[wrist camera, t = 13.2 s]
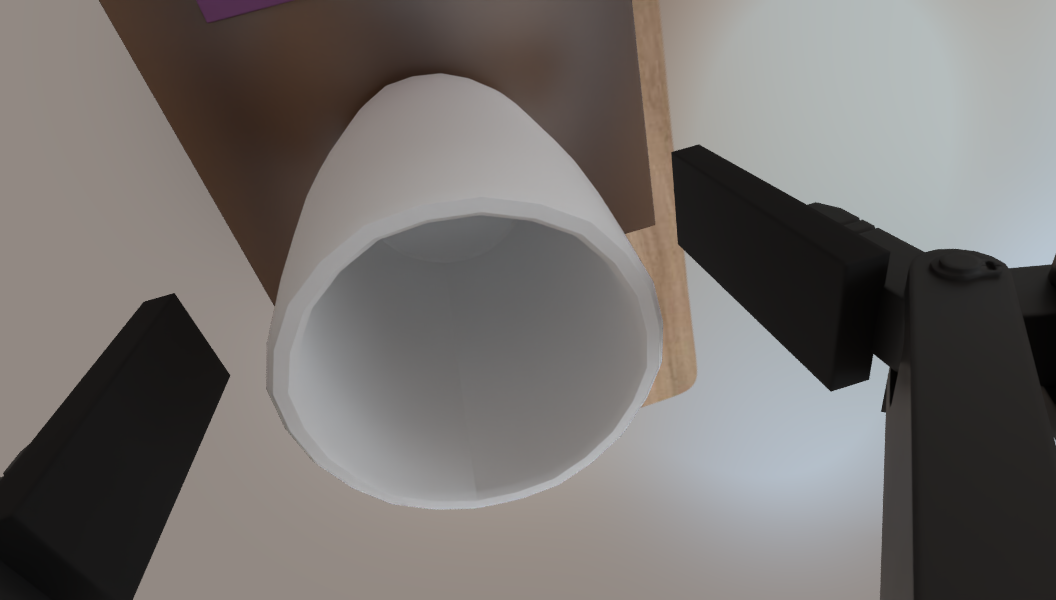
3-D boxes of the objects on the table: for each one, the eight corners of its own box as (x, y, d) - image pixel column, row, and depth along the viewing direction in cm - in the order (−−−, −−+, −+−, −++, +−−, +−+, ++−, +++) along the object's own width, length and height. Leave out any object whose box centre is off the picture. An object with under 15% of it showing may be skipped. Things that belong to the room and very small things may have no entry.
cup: (547, 64, 21) (727, 169, 9) (533, 257, 26) (645, 500, 14) (321, 55, 20) (187, 168, 8) (345, 262, 24) (284, 545, 12)
